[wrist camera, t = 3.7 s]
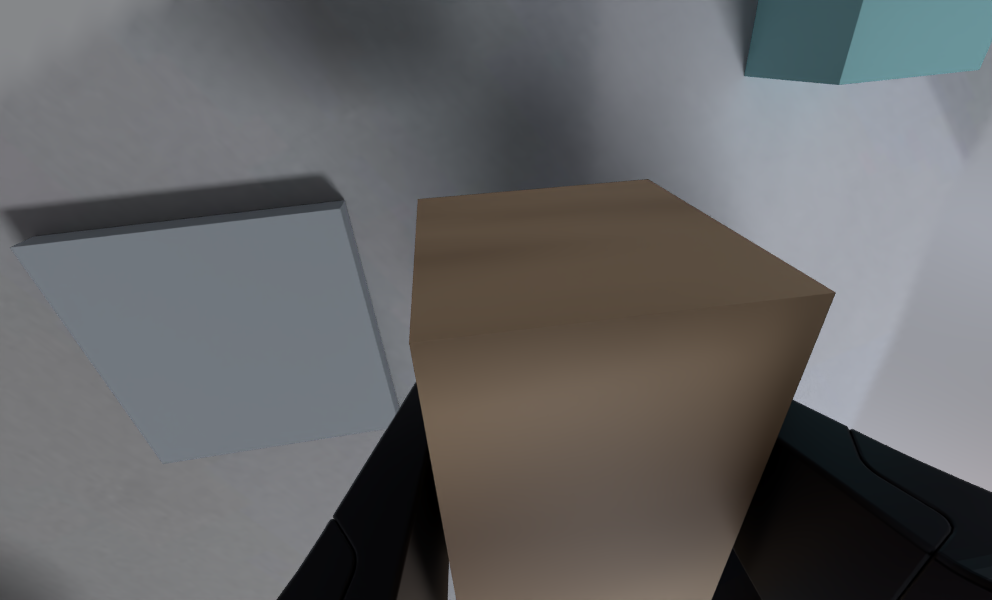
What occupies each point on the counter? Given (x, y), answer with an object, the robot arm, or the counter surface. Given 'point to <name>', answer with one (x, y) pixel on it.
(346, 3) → the counter surface
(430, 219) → the walnut brick
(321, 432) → the base plate
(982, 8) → the teal brick
